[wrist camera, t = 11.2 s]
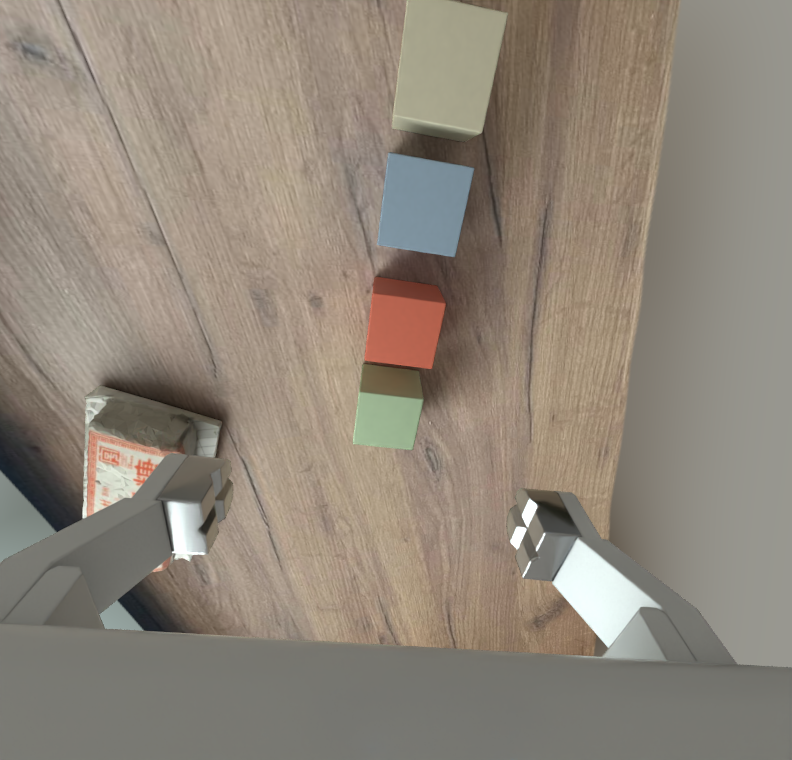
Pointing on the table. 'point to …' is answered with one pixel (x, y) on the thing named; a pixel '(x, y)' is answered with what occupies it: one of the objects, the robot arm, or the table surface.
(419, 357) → the coral block
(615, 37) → the table surface
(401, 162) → the blue-grey block
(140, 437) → the packaged product
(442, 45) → the cream block
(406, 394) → the sage block
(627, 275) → the table surface
